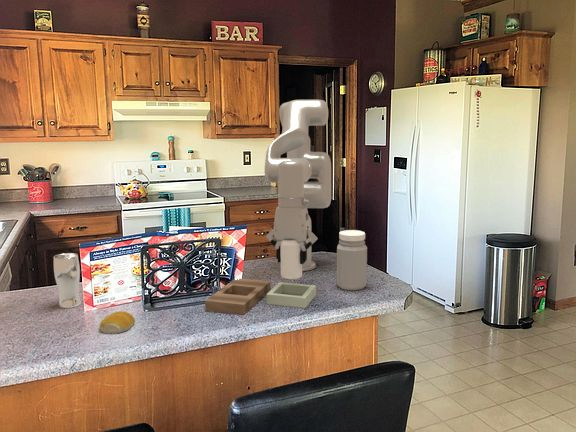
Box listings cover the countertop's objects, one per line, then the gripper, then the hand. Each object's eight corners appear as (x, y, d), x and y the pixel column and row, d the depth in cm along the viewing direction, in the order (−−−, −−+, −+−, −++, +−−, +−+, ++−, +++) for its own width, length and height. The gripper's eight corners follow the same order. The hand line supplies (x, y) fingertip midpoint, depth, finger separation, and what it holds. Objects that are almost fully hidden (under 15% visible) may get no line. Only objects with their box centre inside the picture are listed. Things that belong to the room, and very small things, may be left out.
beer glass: (60, 301, 156) (55, 253, 153) (84, 299, 157) (80, 252, 155) (54, 309, 149) (50, 259, 147) (80, 307, 151) (76, 258, 148)
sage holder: (279, 291, 164) (279, 282, 163) (316, 294, 160) (316, 285, 160) (266, 303, 152) (266, 294, 152) (305, 308, 149) (305, 298, 148)
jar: (363, 292, 162) (364, 236, 158) (333, 289, 165) (333, 234, 161) (368, 283, 171) (369, 230, 167) (339, 280, 174) (340, 228, 170)
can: (293, 281, 150) (293, 241, 148) (276, 277, 154) (275, 238, 152) (306, 276, 155) (306, 237, 153) (289, 272, 159) (289, 234, 157)
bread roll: (138, 321, 141) (137, 307, 140) (125, 335, 132) (124, 320, 131) (109, 320, 141) (108, 306, 140) (94, 334, 132) (93, 319, 132)
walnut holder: (235, 287, 168) (235, 278, 168) (270, 290, 165) (270, 281, 164) (205, 310, 148) (204, 300, 147) (244, 314, 144) (243, 304, 143)
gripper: (323, 202, 152) (322, 261, 155) (267, 200, 157) (268, 257, 160) (316, 206, 145) (316, 267, 148) (258, 203, 150) (260, 263, 153)
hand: (291, 261), depth 154 cm, fingers closed on can, 6 cm apart
